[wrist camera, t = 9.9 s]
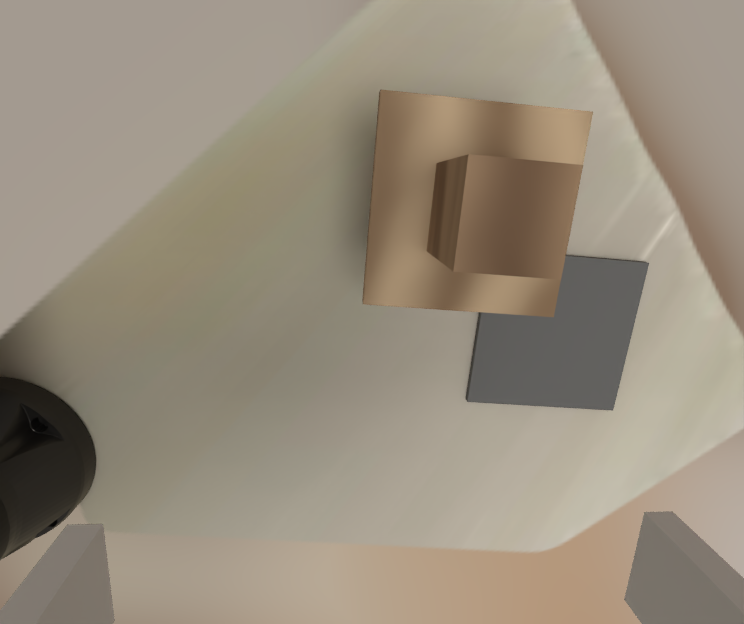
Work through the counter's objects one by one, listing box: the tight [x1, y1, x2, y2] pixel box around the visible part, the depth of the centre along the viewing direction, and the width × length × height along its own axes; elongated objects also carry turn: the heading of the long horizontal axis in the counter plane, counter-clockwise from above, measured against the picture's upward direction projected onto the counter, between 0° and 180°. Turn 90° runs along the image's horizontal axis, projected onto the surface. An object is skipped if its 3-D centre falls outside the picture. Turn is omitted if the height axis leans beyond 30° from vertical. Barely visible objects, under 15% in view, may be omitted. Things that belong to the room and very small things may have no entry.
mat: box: [466, 255, 649, 410], centre depth 41 cm, size 14×14×1 cm
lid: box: [363, 90, 593, 317], centre depth 24 cm, size 12×12×8 cm
